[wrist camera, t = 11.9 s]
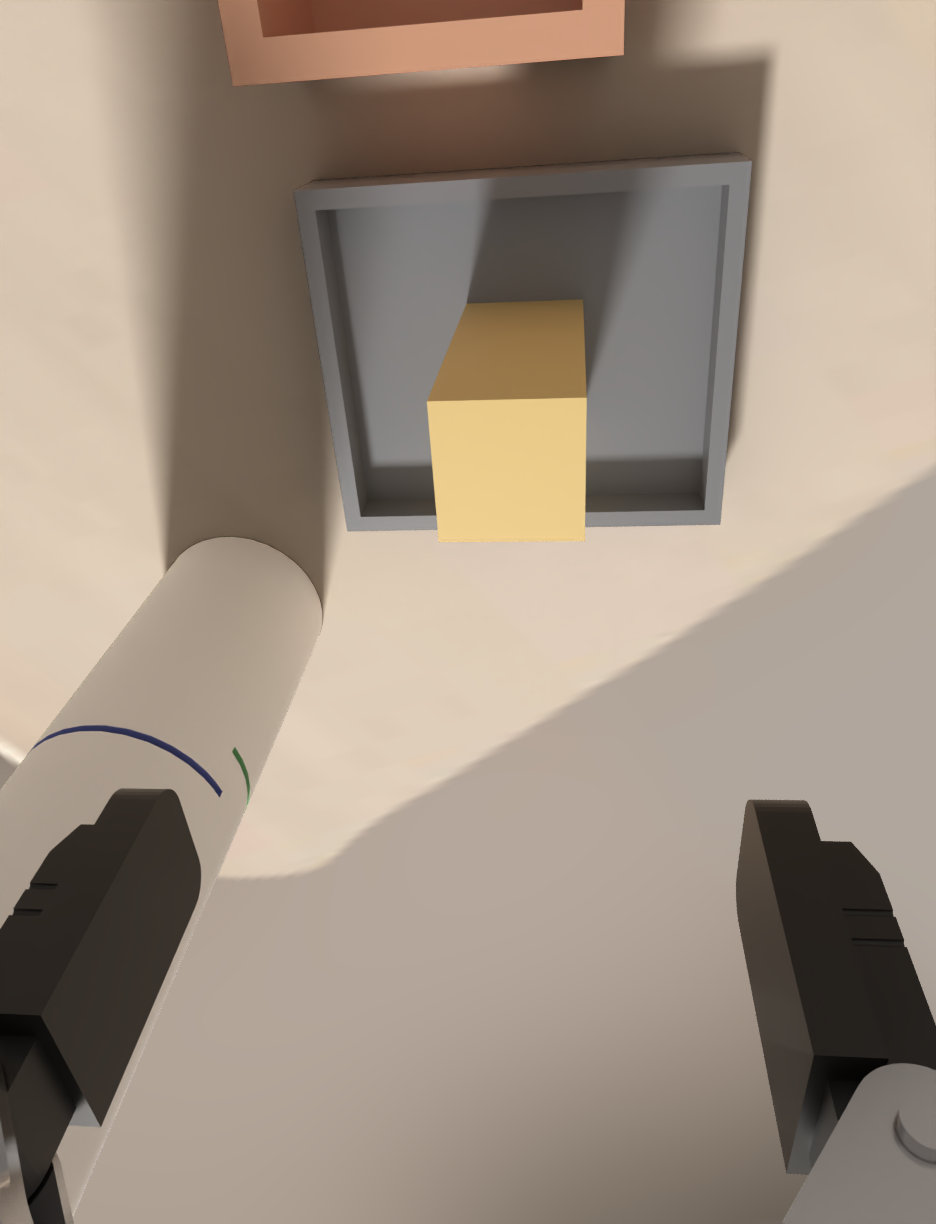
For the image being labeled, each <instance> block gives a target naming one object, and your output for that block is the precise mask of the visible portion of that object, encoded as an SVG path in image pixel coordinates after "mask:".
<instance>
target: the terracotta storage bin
mask: <svg viewBox="0 0 936 1224" xmlns="http://www.w3.org/2000/svg"><path fill="white" fill-rule="evenodd" d="M218 5H219V11H220V16H221V22H222V27H223V33H224V39H225V44H226V50H227V55H228V61H229V66H230V72H231V77H232V83H233V86H245V85H257V84H270V83H282V82H294V81H307V80H319V79H332V78H344V77H357V76H369V75H381V74H394V73H406V72H419V71H431V70H443V69H456V68H468V67H481V66H493V65H506V64H518V63H530V62H543V61H555V60H568V59H580V58H593V57H605V56H617V55H624V10H625V0H218Z"/></svg>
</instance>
